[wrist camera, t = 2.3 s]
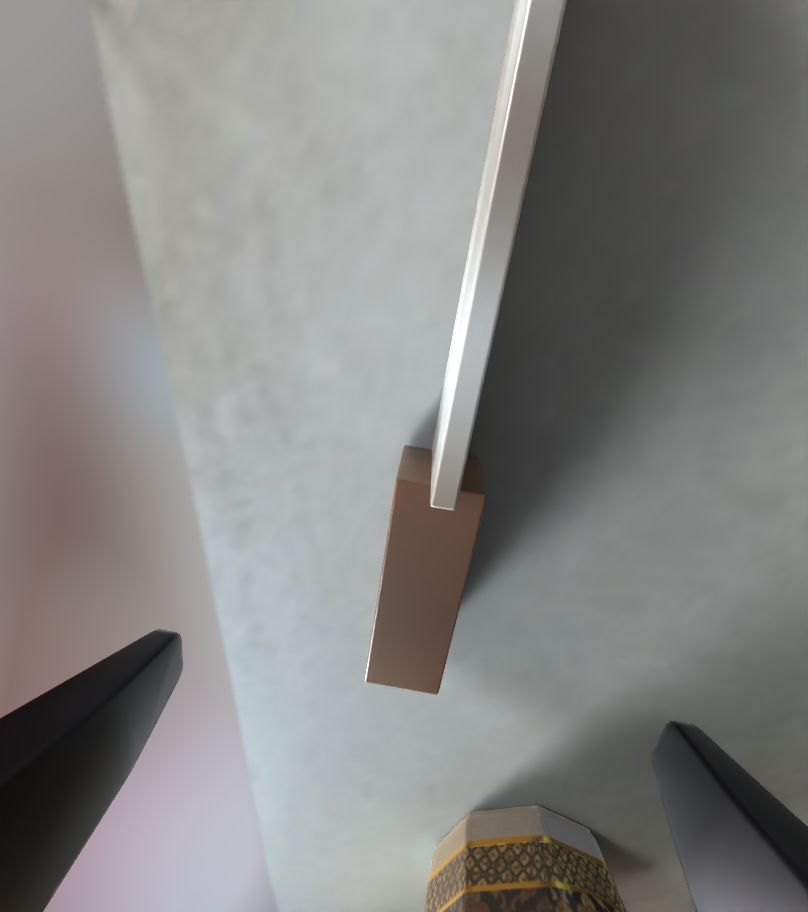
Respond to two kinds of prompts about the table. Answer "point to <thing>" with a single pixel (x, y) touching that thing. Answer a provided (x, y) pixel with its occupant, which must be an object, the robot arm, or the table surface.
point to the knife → (461, 389)
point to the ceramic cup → (520, 865)
